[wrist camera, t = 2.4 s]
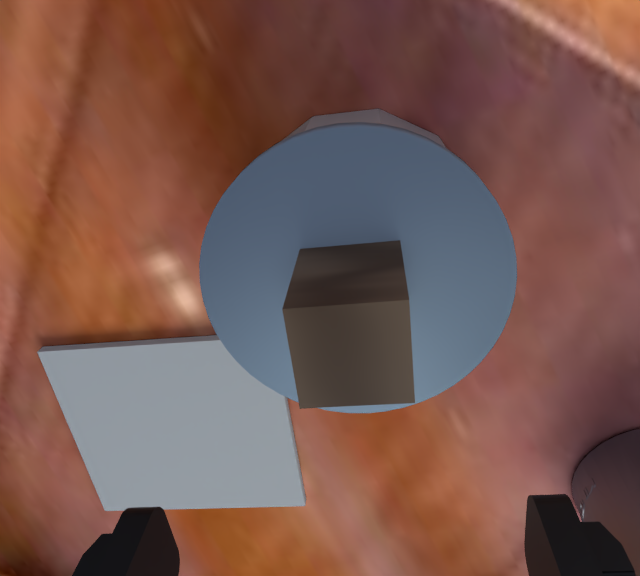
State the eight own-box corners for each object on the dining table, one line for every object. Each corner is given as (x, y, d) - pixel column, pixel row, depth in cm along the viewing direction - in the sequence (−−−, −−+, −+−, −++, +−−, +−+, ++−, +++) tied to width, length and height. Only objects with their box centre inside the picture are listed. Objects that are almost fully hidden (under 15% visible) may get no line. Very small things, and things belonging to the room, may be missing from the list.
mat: (274, 331, 32) (272, 336, 31) (306, 499, 38) (305, 505, 37) (42, 346, 34) (37, 352, 33) (108, 504, 40) (104, 510, 39)
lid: (515, 102, 19) (575, 135, 14) (505, 390, 25) (544, 494, 20) (175, 141, 21) (107, 185, 15) (238, 403, 27) (204, 503, 21)
